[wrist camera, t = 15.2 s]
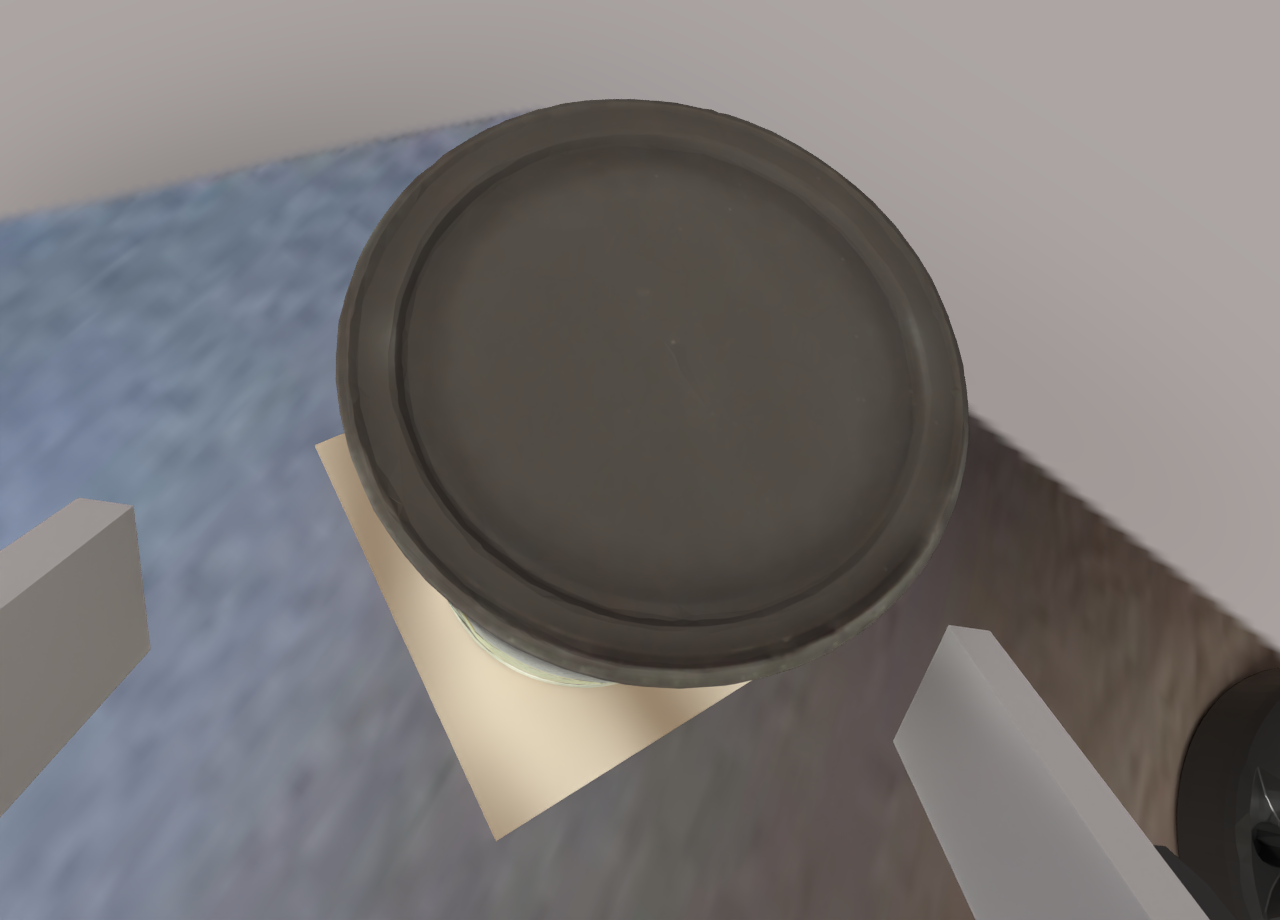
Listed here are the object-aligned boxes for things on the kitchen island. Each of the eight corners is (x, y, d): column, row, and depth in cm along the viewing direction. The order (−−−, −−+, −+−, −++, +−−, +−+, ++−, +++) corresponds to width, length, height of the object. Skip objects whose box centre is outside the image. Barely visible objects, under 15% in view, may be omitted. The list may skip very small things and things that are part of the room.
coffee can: (367, 528, 23) (177, 306, 10) (590, 349, 27) (671, 10, 13) (580, 764, 22) (689, 868, 9) (784, 544, 25) (1079, 382, 12)
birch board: (660, 312, 28) (664, 301, 28) (843, 618, 26) (853, 616, 25) (320, 452, 24) (314, 445, 24) (496, 835, 22) (496, 840, 21)
